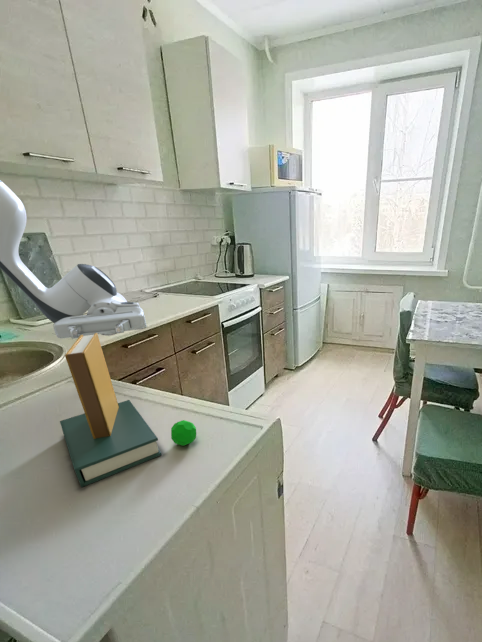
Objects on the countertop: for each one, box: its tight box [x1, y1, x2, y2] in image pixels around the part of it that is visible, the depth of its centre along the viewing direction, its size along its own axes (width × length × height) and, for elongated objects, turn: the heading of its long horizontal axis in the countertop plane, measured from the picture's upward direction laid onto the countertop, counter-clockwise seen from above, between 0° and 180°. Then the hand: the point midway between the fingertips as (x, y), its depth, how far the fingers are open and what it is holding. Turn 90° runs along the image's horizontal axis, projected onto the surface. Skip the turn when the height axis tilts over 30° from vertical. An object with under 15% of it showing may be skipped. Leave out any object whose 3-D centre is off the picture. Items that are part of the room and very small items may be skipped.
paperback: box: [64, 333, 119, 439], centre depth 69 cm, size 12×3×17 cm, turn 17°
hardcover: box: [59, 399, 162, 488], centre depth 71 cm, size 20×14×4 cm
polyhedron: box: [170, 419, 197, 447], centre depth 70 cm, size 5×5×5 cm
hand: (96, 332), depth 80 cm, fingers open, 8 cm apart
